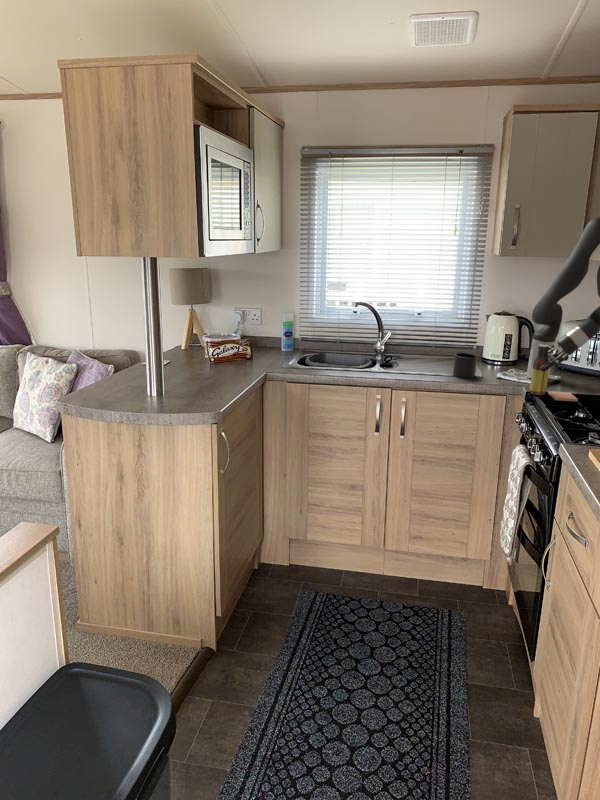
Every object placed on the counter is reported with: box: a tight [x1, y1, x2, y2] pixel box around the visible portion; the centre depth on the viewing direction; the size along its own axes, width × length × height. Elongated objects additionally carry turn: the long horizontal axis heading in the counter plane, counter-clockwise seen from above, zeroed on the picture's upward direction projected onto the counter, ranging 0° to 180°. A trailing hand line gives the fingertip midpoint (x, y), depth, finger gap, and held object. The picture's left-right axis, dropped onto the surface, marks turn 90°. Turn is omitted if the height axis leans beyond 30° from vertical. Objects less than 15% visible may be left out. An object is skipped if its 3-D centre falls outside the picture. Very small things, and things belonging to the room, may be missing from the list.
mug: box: [452, 352, 478, 379], centre depth 267 cm, size 9×12×9 cm
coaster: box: [547, 390, 579, 402], centre depth 241 cm, size 8×8×1 cm
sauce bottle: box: [529, 345, 550, 396], centre depth 242 cm, size 6×6×20 cm
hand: (538, 367), depth 242 cm, fingers open, 8 cm apart
